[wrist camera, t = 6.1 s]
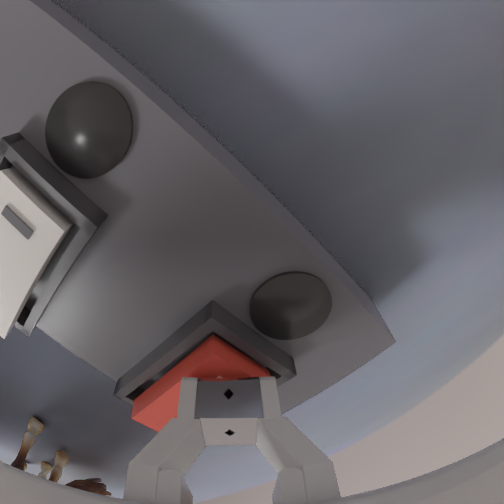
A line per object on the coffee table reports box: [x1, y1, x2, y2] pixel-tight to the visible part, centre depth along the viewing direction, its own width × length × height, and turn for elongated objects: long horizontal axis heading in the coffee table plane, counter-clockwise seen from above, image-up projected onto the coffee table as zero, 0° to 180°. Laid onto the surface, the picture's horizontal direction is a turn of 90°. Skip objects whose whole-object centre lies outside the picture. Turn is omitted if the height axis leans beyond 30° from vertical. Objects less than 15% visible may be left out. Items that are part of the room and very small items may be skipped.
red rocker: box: [131, 334, 271, 432], centre depth 11 cm, size 5×3×2 cm, turn 134°
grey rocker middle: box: [0, 167, 75, 339], centre depth 8 cm, size 5×3×2 cm, turn 134°
